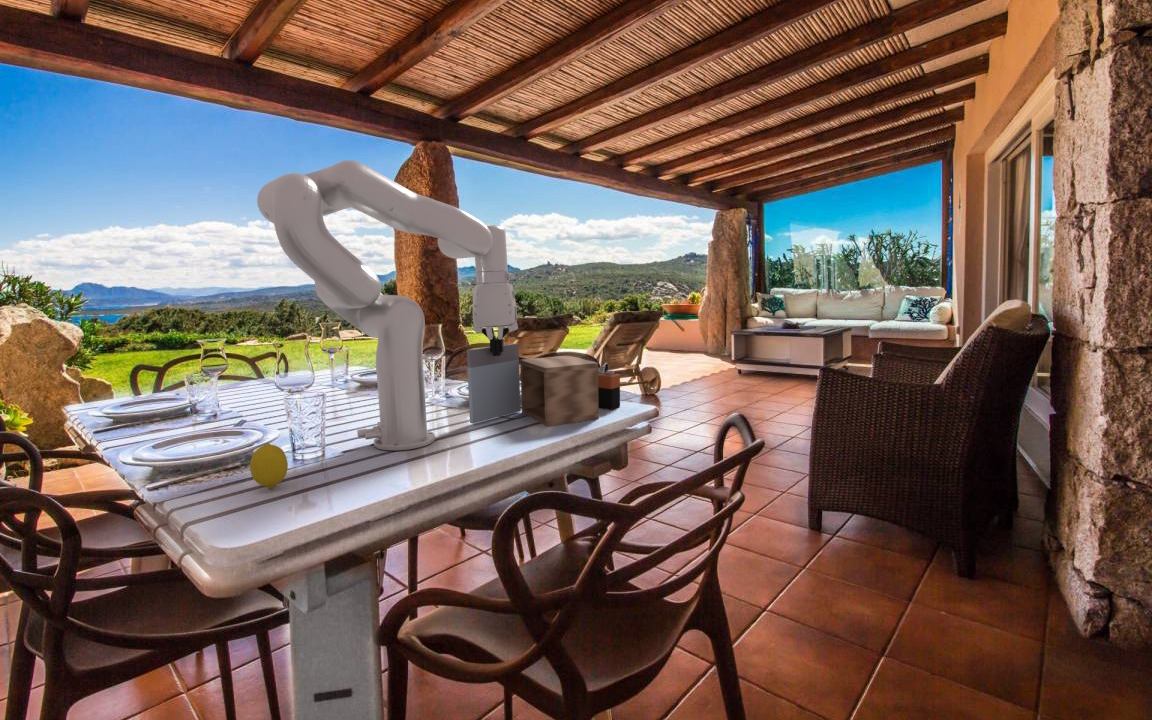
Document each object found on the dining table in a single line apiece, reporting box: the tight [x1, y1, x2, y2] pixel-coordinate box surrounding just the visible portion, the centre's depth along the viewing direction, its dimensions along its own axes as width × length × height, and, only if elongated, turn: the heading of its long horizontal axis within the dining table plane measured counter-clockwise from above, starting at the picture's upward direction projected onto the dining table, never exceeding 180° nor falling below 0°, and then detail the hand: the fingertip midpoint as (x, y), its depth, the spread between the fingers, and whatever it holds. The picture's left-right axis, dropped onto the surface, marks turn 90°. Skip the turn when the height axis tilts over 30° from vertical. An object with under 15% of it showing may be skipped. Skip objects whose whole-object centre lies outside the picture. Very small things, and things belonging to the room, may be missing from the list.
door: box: [466, 342, 522, 425], centre depth 137 cm, size 1×16×18 cm, turn 140°
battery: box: [598, 369, 621, 410], centre depth 148 cm, size 4×7×10 cm, turn 51°
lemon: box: [249, 442, 289, 490], centre depth 93 cm, size 6×6×8 cm
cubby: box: [519, 355, 600, 427], centre depth 139 cm, size 14×16×14 cm
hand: (497, 355), depth 134 cm, fingers closed
